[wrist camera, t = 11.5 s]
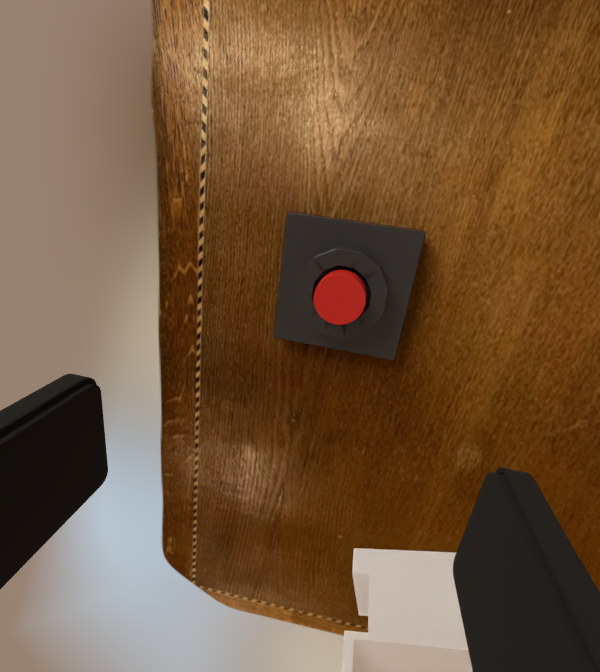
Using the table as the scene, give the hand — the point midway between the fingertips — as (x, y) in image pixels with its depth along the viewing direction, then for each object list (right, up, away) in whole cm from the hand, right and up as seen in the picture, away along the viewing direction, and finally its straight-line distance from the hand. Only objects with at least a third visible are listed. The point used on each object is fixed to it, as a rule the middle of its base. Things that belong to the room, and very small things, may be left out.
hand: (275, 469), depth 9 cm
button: (+4, +6, +18) cm, 19 cm away
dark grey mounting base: (+4, +7, +21) cm, 23 cm away
